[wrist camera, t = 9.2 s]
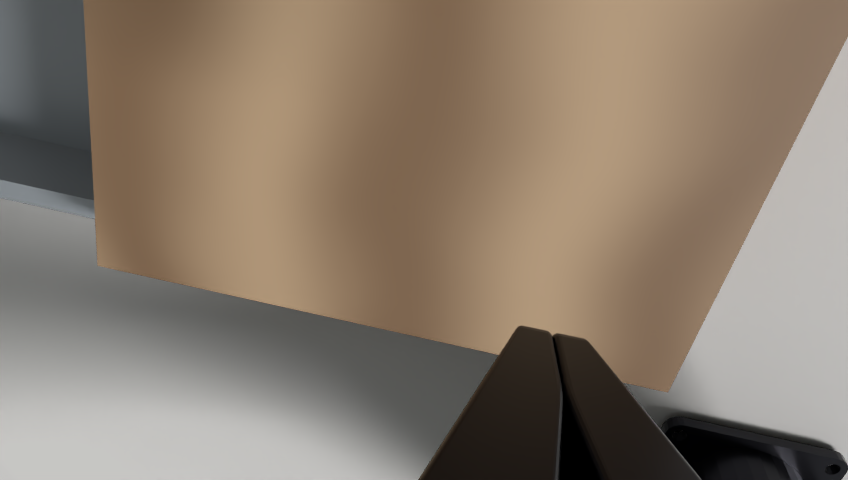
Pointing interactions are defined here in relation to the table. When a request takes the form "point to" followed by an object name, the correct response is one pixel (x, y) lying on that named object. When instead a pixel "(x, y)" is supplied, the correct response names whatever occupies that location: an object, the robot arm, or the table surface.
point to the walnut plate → (453, 157)
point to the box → (45, 106)
